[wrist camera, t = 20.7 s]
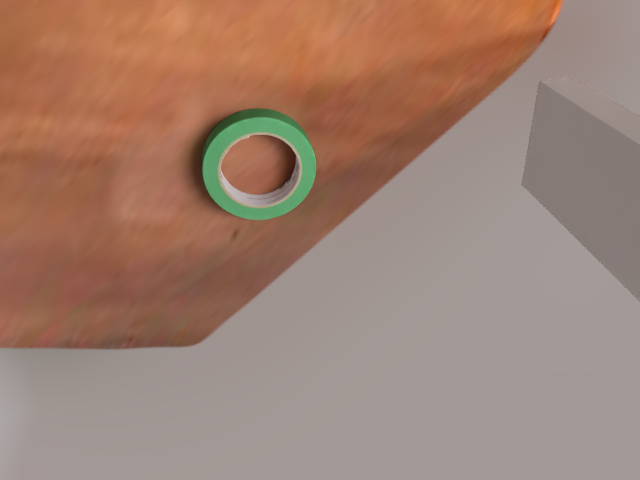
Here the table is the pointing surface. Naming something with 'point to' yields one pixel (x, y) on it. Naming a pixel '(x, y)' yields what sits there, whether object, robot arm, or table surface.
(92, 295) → the table surface
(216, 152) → the tape roll
